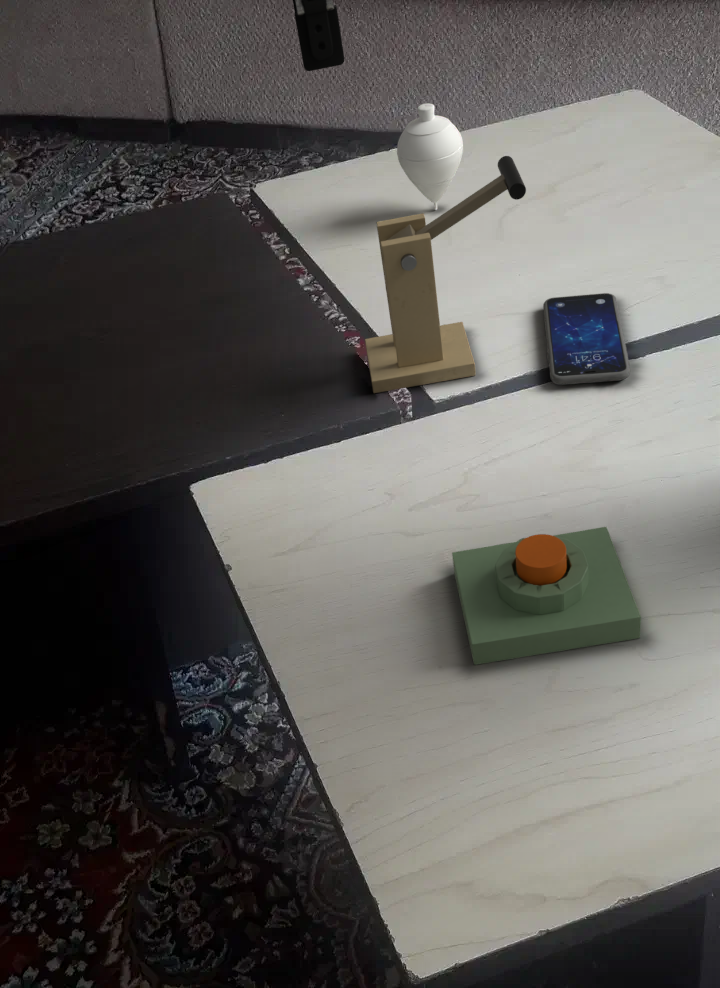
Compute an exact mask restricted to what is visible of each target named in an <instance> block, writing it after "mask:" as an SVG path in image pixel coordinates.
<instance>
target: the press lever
mask: <svg viewBox="0 0 720 988" xmlns="http://www.w3.org/2000/svg"><path fill="white" fill-rule="evenodd" d="M497 169H498V171H499V173H500V175H499V176H497V177H496V178H494V179H493V180H491V181H490V182H488V183H487V184H486V185H484V186H483V187H481V188H480V189H478V190H476V191H475V192H474V193H472V194H470V195H469V196H468V197H466V198H465V199H463V200H461V201H460V202H458V203H457V204H455V205H454V206H453V207H451V208H450V209H448V210H447V211H445V212H444V213H442V214H441V215H439V216H438V217H437V218H435V219H434V220H432V221H430V222H429V223H428V224H427V223H426V226H424V227H423V228H422V229H420V230H419V231H417V232H415V231H414V229H413V228H412V226H411V225H408V226H407V227H405V228H404V229H402V230H401V231H399V232H398V233H396V234H395V235H393V236H392V237H390V238H389V239H387V240H392V239H397V238H402V237H408V236H413V235H419V234H424V233H429V234H430V237H431V241H432V240H433V239H435V238H436V237H438V236H439V235H441V234H443V233H444V232H446V231H447V230H449V229H450V228H452V227H453V226H454V225H456V224H458V223H459V222H460V221H463V220H464V219H465V218H467V217H469V216H470V215H471V214H473V213H475V212H476V211H477V210H479V209H480V208H482V207H483V206H485V205H486V204H488V203H489V202H491V201H492V200H494V199H495V198H497V197H498V196H500V195H501V194H503V193H505V192H508V195H509V196H510V198H511V199H513V200H517V201H518V200H520V199H522V198H524V197H525V195H526V194H527V193H526V192H527V187H526V184H525V183H524V181H523V179H522V177H521V174H520V172H519V170H518V168H517V166H516V164H515V161H514V159H513V157H511V156H509V155H503V156H501V157H500V158H499V160H498V161H497Z"/></svg>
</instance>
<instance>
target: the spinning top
mask: <svg viewBox="0 0 720 988" xmlns="http://www.w3.org/2000/svg"><path fill="white" fill-rule="evenodd" d="M416 108H417V109H416V110H417V114H418V117H417V118H415V119H412V120H410V121H409V123H407V124H406V125H405V128H404V130H403V131H402V133H401V134H400V135H399V138H398V140H397V146H396V155H397V160H398V163H399V165H400V167H401V169H402V170H403V172H404V173H405V175H406V176H407V178H408V179H409V181H410V182H411V183H412V184H413V186H415V188H416V189H417V190H418V191H419V192H420V193H421V194H422V195H423V196H424V197H425V198H426V199H427V200H428V201H429V202H431V203H433V209H434V210H435V211H437V210H438V202H439V201H440V200H442V197H443V196H444V194H445V193H446V191H447V190H448V188H449V186H450V184H451V183H452V181H453V180H454V178H455V175H456V173H457V172H458V170H459V169H458V168H459V166H460V163H461V161H462V158H463V154H464V142H463V141H464V140H463V136H462V135H461V132H460V130H459V129H458V128H457V126H456V125H455V124H454V123H453V122H451V120H450V119H449V118H447V117H445V116H442V115H437V114H435V105H434V104H433V103H428V102H427V103H422V104H420V105H419V106H418V107H416Z"/></svg>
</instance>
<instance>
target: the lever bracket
mask: <svg viewBox="0 0 720 988" xmlns="http://www.w3.org/2000/svg"><path fill="white" fill-rule="evenodd" d="M426 222H427V221H426V216H425V213H423V212H422V213H418V214H412V215H406V216H400V217H396V218H391V219H390V218H389V219H385V220H380V221H376V229H377V237H378V244H379V250H380V257H381V264H382V271H383V277H384V285H385V291H386V292H385V293H386V298H387V299H386V300H387V306H388V307H387V308H388V314H389V320H390V327H391V328H390V329H391V334H385V335H379V336H374V337H368V338H365V339H364V344H365V350H366V356H367V362H368V369H369V374H370V381H371V387H372V392H373V394H378V393H385V392H389V391H395V390H401V389H402V390H403V389H407V388H412V387H417V386H418V387H419V386H425V385H429V384H436V383H441V382H447V381H452V380H458V379H463V378H470V377H475V376H476V375H477V373H476V362H475V360H474V356H473V353H472V349H471V346H470V343H469V339H468V335H467V333H466V329H465V325H464V322H463V321H457V322H453V323H446V324H441V322H440V321H441V320H440V314H439V313H440V312H439V304H438V303H439V302H438V296H437V295H438V294H437V286H436V285H437V284H436V274H435V268H434V267H435V265H434V257H433V256H434V255H433V248H432V247H433V246H432V240H431V237H430V234H429V233H424V234H419V235H413V236H408V237H402V238H397V239H392V240H387V239H389V238H390V237H392V236H393V235H395V234H396V233H398V232H399V231H401V230H402V229H404V228H405V227H407V226H408V225H411V226H412V228H413V229H414V231H415V232H417V231H419V230H420V229H422V228H423V227H424V226H426V225H427V223H426Z"/></svg>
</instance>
